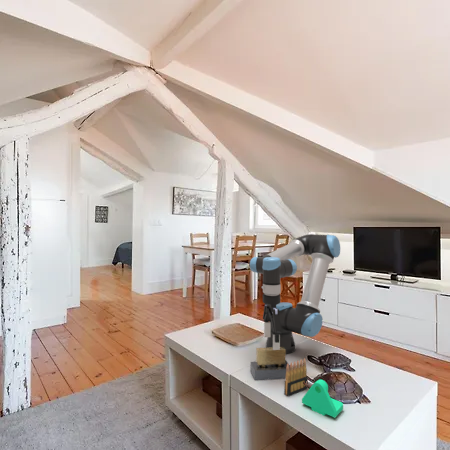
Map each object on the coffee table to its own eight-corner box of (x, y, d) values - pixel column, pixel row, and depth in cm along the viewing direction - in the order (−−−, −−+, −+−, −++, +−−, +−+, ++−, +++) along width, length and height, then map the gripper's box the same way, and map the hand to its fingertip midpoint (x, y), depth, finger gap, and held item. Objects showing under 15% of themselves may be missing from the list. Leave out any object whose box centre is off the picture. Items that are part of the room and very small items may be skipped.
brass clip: (283, 372, 133) (283, 346, 133) (285, 375, 130) (285, 349, 130) (256, 373, 131) (256, 348, 131) (257, 377, 128) (258, 350, 128)
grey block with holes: (285, 369, 135) (285, 360, 135) (292, 378, 127) (292, 368, 127) (250, 371, 133) (250, 361, 133) (254, 380, 125) (254, 370, 125)
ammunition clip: (287, 397, 114) (287, 364, 114) (284, 394, 115) (284, 362, 115) (307, 389, 119) (308, 358, 119) (304, 386, 121) (304, 356, 121)
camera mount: (344, 410, 106) (344, 381, 106) (334, 421, 100) (335, 389, 100) (312, 397, 114) (312, 369, 114) (301, 406, 108) (302, 377, 108)
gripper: (256, 287, 142) (256, 332, 143) (271, 301, 118) (271, 356, 118) (271, 287, 143) (271, 331, 144) (289, 300, 119) (290, 355, 119)
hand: (271, 343), depth 131 cm, fingers open, 13 cm apart
